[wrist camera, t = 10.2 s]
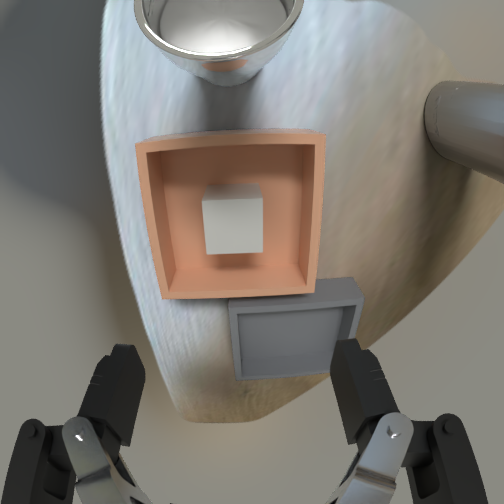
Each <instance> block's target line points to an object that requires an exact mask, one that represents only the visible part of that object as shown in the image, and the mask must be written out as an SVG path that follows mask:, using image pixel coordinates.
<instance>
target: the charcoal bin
mask: <svg viewBox="0 0 504 504" xmlns="http://www.w3.org/2000/svg"><path fill="white" fill-rule="evenodd" d="M364 300H365V297H364V295H363V294H362V292H361V290H360V288H359V287H358V285H357V283H356V282H355V280H354V278H353V277H347V278H333V279H319V280H316V282H315V290H314V293H303V294H288V295H271V296H252V297H230V298H229V300H228V310H229V320H230V330H231V340H232V350H233V359H234V369H235V378H236V381H238V380H259V379H273V378H286V377H296V376H306V375H314V374H322V373H330V364H331V360H332V356H333V352H334V348H335V344H336V341H337V340H344V339H352V338H355V334H356V331H357V327H358V324H359V320H360V316H361V312H362V308H363V304H364Z"/></svg>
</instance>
